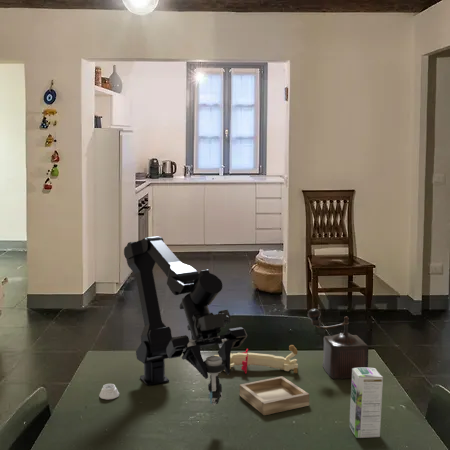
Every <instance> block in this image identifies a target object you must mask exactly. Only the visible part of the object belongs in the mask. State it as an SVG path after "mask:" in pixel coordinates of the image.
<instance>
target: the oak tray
mask: <svg viewBox="0 0 450 450" xmlns="http://www.w3.org/2000/svg"><path fill="white" fill-rule="evenodd" d="M239 397H241V398H242V399H243V400H244V401H246V402H247V403H248V404H250V405H251V406H252V407H253V408H254V409H256V411H258V412H259V413H260V414H262V415H263V416H267V415H268V416H269V415H271V414H276V413H280V412H282V413H283V412H285V411H290V410H294V409H299V408H303V407H307V406H310V393H309V392H307V391H305V390H304V389H302V388H301V387H299V386H298V385H296V384H295V383H293V382H292V381H290V380H289V379H287V378H285V377H284V376H277V377H276V376H275V377H272V378H266V379H261V380H257V381H251V382H246V383H241V384H239Z"/></svg>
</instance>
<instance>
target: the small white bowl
mask: <svg viewBox="0 0 450 450" xmlns="http://www.w3.org/2000/svg"><path fill="white" fill-rule="evenodd" d="M98 396H99V398H100V399H102V400H114V399H117V398H118V397H119V396H120V392H119V390H118V388H117V387H116V385H115V384H114V383H106V384H103V386H102V388H101V391H99V395H98Z"/></svg>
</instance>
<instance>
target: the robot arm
mask: <svg viewBox="0 0 450 450" xmlns="http://www.w3.org/2000/svg"><path fill="white" fill-rule="evenodd" d="M123 255H124V257H125V260H126V263H127V266H128V267H129V269H130V270H131V271H132V272H133V273H134V275H135V279H136V280H135V281H136V284H137V290H138V297H139V301H140V306H141V311H142V318H143V323H144V327H143V329H142V331H141V335H140V344H139V346H138V347H137V348H136V350H135V355H136V359H137V360H138V361H139V362H141V363H142V364H143V375H140V376H139V378H140V380H141V381H143V383H144V384H145V385H146V386H152V385H157V384H163V383H168V382H170V379H169V378H168V377H167V376H166V374H165V373H166V372H165V370H166V368H165V364H166V363H165V360H166V359H167V360H168V359H175V358H181V360H183V361H184V360H186V361H187V362H188V363H189V364H191V365H192V366H193V367H194V368H195V370H197V371H198V372H199V374H200V375H202V377H203V378H204V379H205V380H206V379H207V380H208V378H209V373H207V369H206V367H205V364H204V361H205V360H204V359H203V357H202V353H201V348H203V347H204V348H205V347H210V346H215V345H218V347H219V349H218V351H217V355H219V357H221V358H222V360H224V361H225V362H226V365H225V369H224V370H225V371H224V372H225V374H226V375H228V376H229V375H230V373H231V369H230V354H231V353H232V349H237V348H240V347H241V346H242V344H243V343H244V342H245V340H246V339H247V337H248V334H247V332H246V329H245V328H243V327H242V326H239V327H233V328H228V330H227V331H226V332H225V334H222V335H221V334H220V333H221V331H222V330H221V329H222V328H226V325H227V324H228V325H229V324H230V323H231V322H232V319H231V314H230V312H229V309H222V310H219V311H218V313H217V314H216V313H213V312H210V309H209V307H208V306H210V305H211V304H212V303H213V302H214V301H215V299H216V298H217V296H218V295H219V294H220V292H221V291H222V290H223V282H222V280H221V279H220V278H219V276H217V275H215V274H213V273H210V271H209V269H203V270H200V271H199V272H198V270H197V269H195V268H194V267H193V266H191V265H189V264H186V263H183V262H182V261H181V260H180V259H179V258H178V257H177V256H176V255H175V253H173V251H172V250H171V248H169V247H168V246H167V244H166V243H165V240H164V238H163V237H162V236H159V235H156V236H146V237H144V238H142V239H140V240H137V241H130V242H127V245H126V246H125V247H124V249H123ZM156 264H157V266H158V267H159V268H160V270H162V272H163V273H164V274H165V275H166V285H167V286H168V288H169V290H170V291H171V293H172V294H173V295H175V296H182V295H185V296H184V297H182V298H181V302H180V304H179V309H180V310H183V311H184V313H185V314H184V315H185V318H186V321H187V326H186V328H187V330H188V331H190V333H191V336H192V339H190V338H189V336H188V335H180V336H173V335H172V330H171V328H170V326H167V325H165V323H164V322H163V320H162V314H161V309H160V304H159V303H160V302H159V298H158V297H159V296H158V291H157V287H156V282H155V276H154V271H153V270H154V267H155V266H156ZM218 334H220V335H218Z"/></svg>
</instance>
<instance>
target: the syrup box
mask: <svg viewBox="0 0 450 450" xmlns="http://www.w3.org/2000/svg"><path fill="white" fill-rule="evenodd" d="M383 381H384V376H383V375H381V373H380V372H379V371H378V370H377V368H375V367H369V366H368V367H360V368H352V379H351V386H350V387H351V388H350V401H349V402H350V405H349V429H350V430H351V432H352V434H353V435H354V437H355V439H364V438H367V439H368V438H380V436H381V424H382V423H381V422H382V402H383V383H384V382H383Z"/></svg>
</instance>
